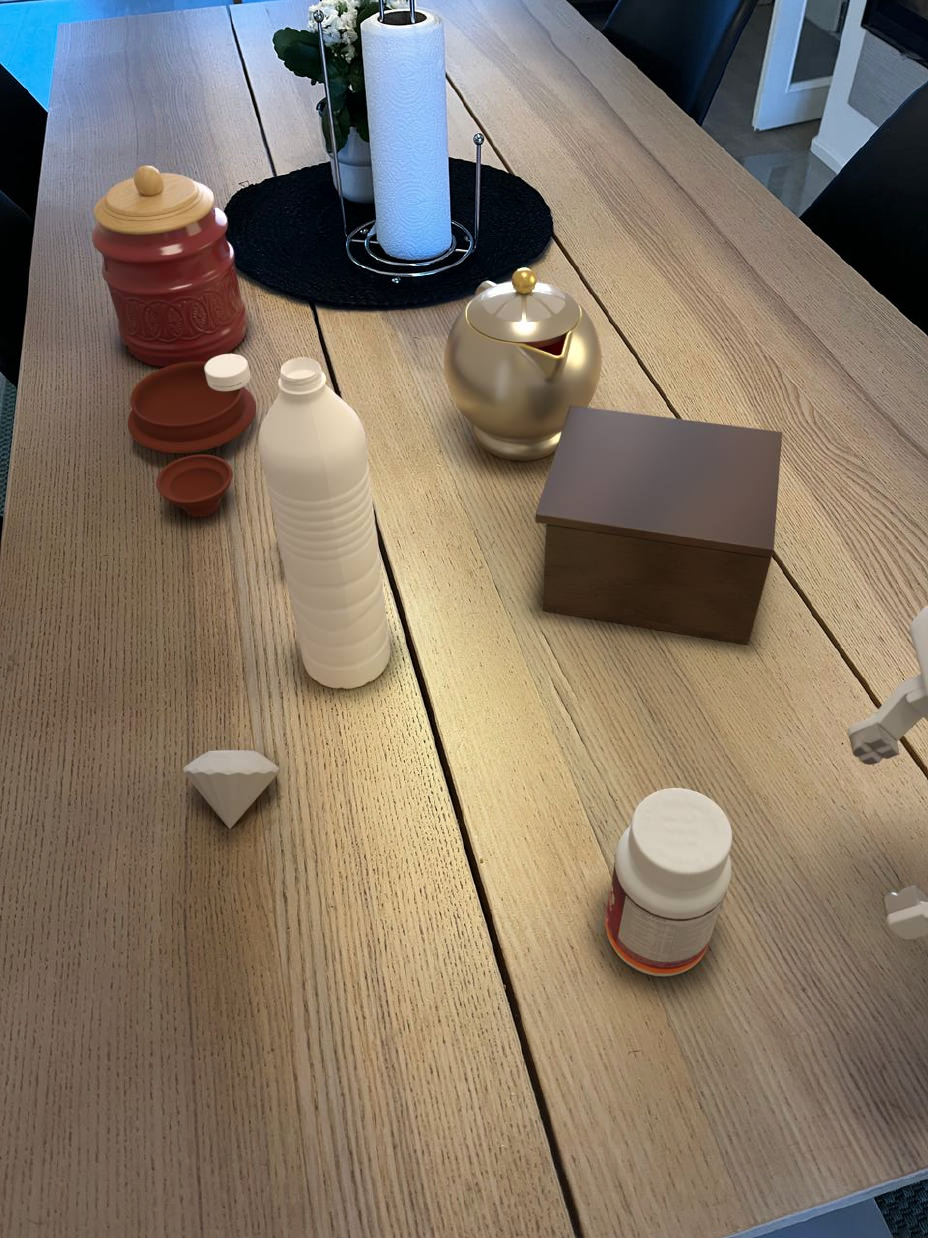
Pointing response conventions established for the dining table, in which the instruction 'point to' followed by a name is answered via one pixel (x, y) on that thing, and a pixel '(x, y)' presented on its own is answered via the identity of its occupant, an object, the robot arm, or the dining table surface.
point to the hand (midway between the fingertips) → (872, 827)
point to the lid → (665, 480)
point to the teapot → (521, 364)
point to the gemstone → (231, 780)
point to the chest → (652, 583)
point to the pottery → (189, 431)
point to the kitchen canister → (169, 269)
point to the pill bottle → (669, 882)
